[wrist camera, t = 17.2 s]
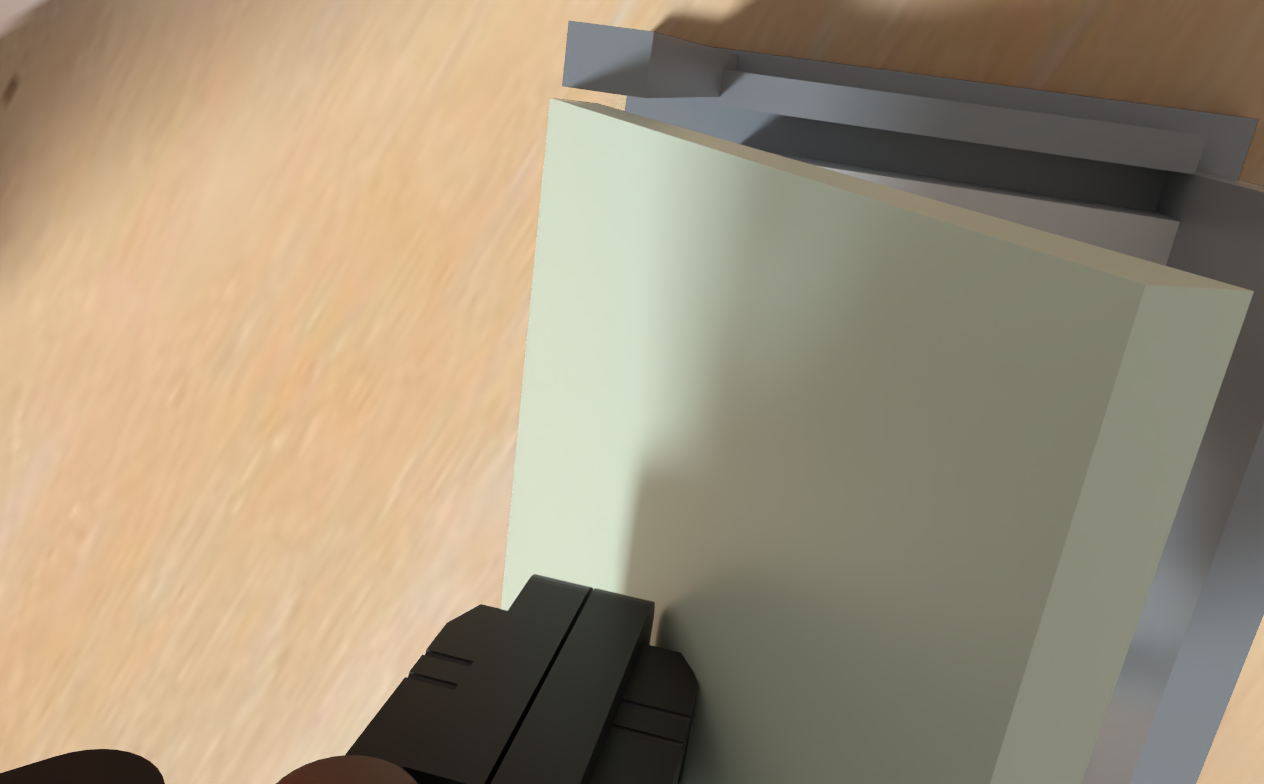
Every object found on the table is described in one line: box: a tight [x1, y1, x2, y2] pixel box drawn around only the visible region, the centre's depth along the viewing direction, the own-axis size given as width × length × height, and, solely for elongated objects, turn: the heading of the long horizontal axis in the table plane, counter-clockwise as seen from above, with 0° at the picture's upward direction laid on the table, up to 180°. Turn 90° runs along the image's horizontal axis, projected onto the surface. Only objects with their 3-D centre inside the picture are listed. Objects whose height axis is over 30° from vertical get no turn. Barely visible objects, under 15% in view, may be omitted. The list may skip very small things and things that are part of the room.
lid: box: [501, 98, 1254, 784], centre depth 13 cm, size 12×12×2 cm
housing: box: [562, 21, 1264, 784], centre depth 21 cm, size 14×15×10 cm
